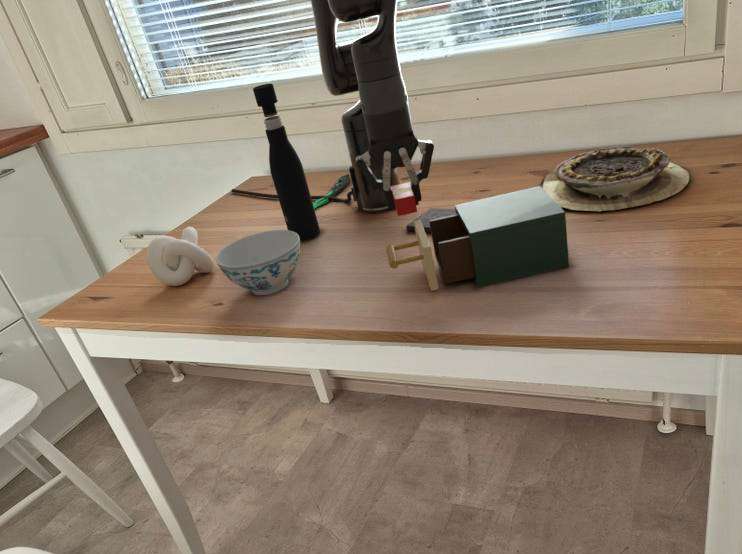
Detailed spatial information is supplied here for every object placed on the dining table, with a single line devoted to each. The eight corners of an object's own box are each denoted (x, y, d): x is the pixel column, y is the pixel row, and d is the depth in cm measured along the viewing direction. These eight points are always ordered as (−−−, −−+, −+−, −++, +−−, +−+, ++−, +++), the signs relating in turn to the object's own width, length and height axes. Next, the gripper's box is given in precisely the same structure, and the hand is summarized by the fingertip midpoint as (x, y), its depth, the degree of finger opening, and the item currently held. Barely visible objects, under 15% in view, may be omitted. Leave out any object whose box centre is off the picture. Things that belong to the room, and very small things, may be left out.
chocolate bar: (430, 208, 137) (509, 212, 127) (431, 212, 138) (510, 216, 127) (405, 225, 131) (486, 231, 121) (406, 230, 132) (487, 236, 122)
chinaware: (273, 311, 113) (260, 269, 109) (213, 302, 121) (198, 263, 117) (327, 271, 123) (316, 231, 119) (267, 265, 131) (255, 228, 127)
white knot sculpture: (168, 269, 140) (152, 229, 135) (224, 258, 139) (209, 217, 135) (154, 293, 130) (136, 250, 126) (214, 281, 130) (198, 237, 125)
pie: (702, 160, 133) (703, 134, 130) (669, 214, 114) (669, 186, 112) (565, 163, 148) (563, 140, 145) (516, 211, 129) (513, 186, 127)
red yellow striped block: (417, 212, 115) (414, 195, 113) (397, 216, 115) (394, 199, 113) (412, 198, 121) (409, 181, 120) (393, 202, 121) (390, 186, 120)
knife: (345, 173, 171) (362, 172, 169) (345, 176, 172) (362, 175, 170) (296, 209, 155) (315, 208, 152) (297, 212, 155) (316, 211, 153)
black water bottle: (326, 229, 142) (285, 79, 127) (310, 241, 137) (266, 88, 122) (301, 229, 145) (258, 83, 130) (284, 242, 140) (239, 92, 125)
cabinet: (477, 287, 106) (469, 233, 101) (462, 254, 117) (454, 205, 113) (569, 266, 105) (565, 211, 101) (544, 236, 117) (539, 185, 112)
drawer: (397, 298, 106) (387, 256, 102) (390, 267, 116) (381, 228, 113) (515, 272, 106) (510, 228, 102) (497, 243, 116) (492, 203, 112)
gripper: (424, 91, 112) (441, 191, 121) (341, 110, 112) (364, 208, 121) (431, 100, 106) (447, 204, 115) (343, 120, 106) (366, 222, 115)
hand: (404, 206), depth 118 cm, fingers closed on red yellow striped block, 3 cm apart
